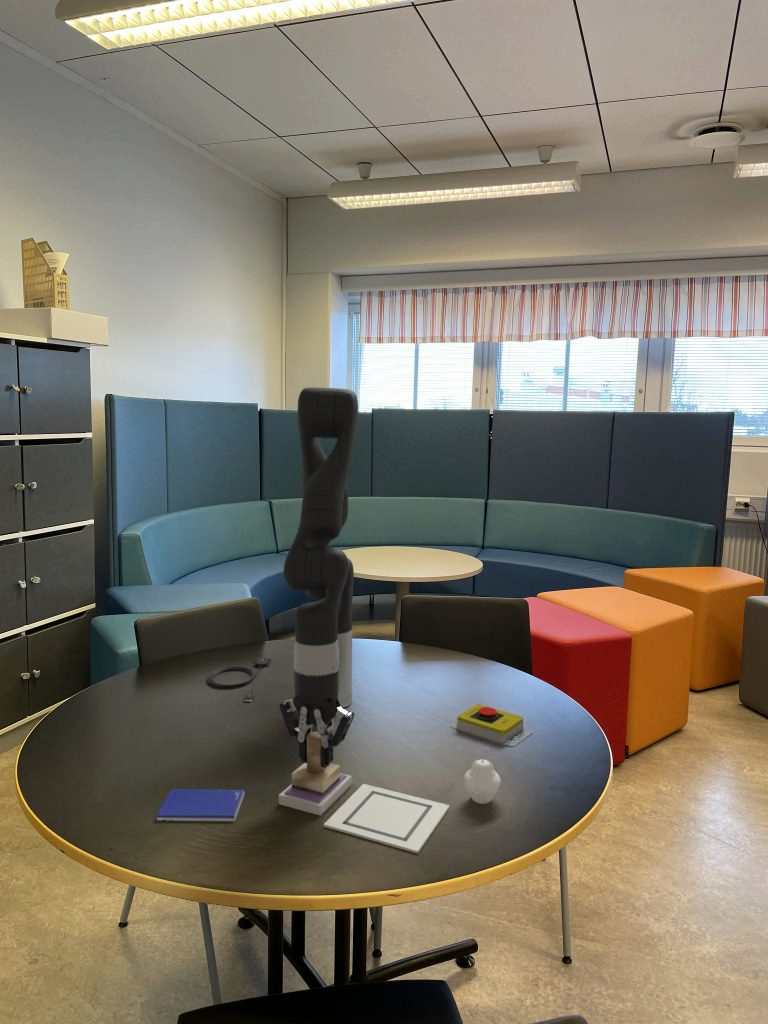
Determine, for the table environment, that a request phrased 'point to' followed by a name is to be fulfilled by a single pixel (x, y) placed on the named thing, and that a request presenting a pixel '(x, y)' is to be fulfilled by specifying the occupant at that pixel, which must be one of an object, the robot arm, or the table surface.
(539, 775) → the table surface
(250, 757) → the table surface
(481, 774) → the white rounded piece
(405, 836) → the sheet
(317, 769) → the stamp
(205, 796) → the blue book
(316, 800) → the ink pad
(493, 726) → the emergency button
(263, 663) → the cable
